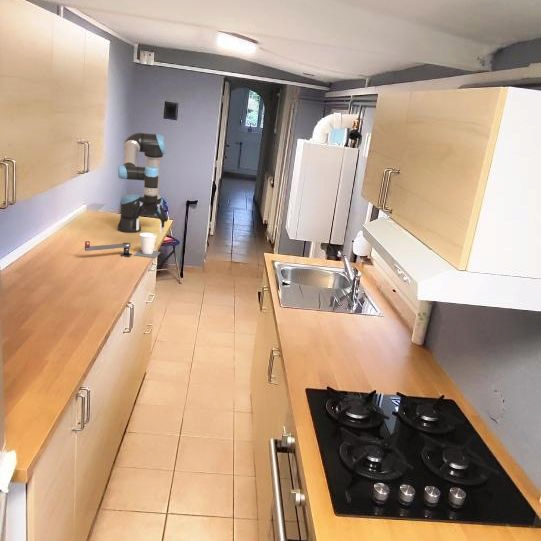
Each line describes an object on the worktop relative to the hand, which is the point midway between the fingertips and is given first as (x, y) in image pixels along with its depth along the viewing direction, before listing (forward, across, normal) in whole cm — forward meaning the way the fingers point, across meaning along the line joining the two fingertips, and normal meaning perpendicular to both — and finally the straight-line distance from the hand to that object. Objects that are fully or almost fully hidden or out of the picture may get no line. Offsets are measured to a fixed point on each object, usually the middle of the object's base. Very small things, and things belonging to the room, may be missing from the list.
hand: (149, 231), depth 313 cm
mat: (+13, 0, -2) cm, 13 cm away
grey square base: (+13, -10, -10) cm, 19 cm away
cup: (+13, 0, -2) cm, 13 cm away
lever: (+8, -18, -17) cm, 26 cm away
